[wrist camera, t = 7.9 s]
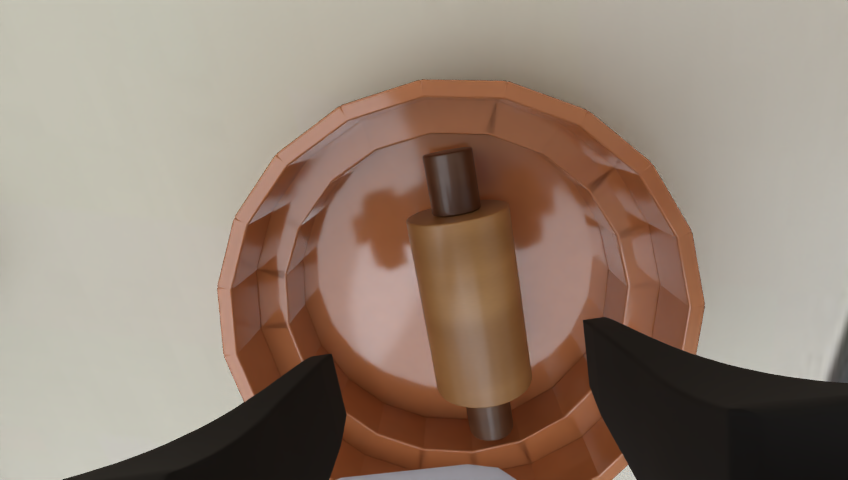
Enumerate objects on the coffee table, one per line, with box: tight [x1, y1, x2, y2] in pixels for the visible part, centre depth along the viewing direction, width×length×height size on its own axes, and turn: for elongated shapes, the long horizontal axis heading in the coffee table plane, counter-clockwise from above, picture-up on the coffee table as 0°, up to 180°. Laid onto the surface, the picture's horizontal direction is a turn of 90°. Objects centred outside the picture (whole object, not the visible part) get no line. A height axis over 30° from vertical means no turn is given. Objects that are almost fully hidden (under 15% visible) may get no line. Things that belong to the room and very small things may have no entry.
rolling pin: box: [406, 147, 532, 441], centre depth 18 cm, size 11×4×4 cm, turn 10°
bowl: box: [217, 79, 705, 480], centre depth 18 cm, size 16×16×5 cm
